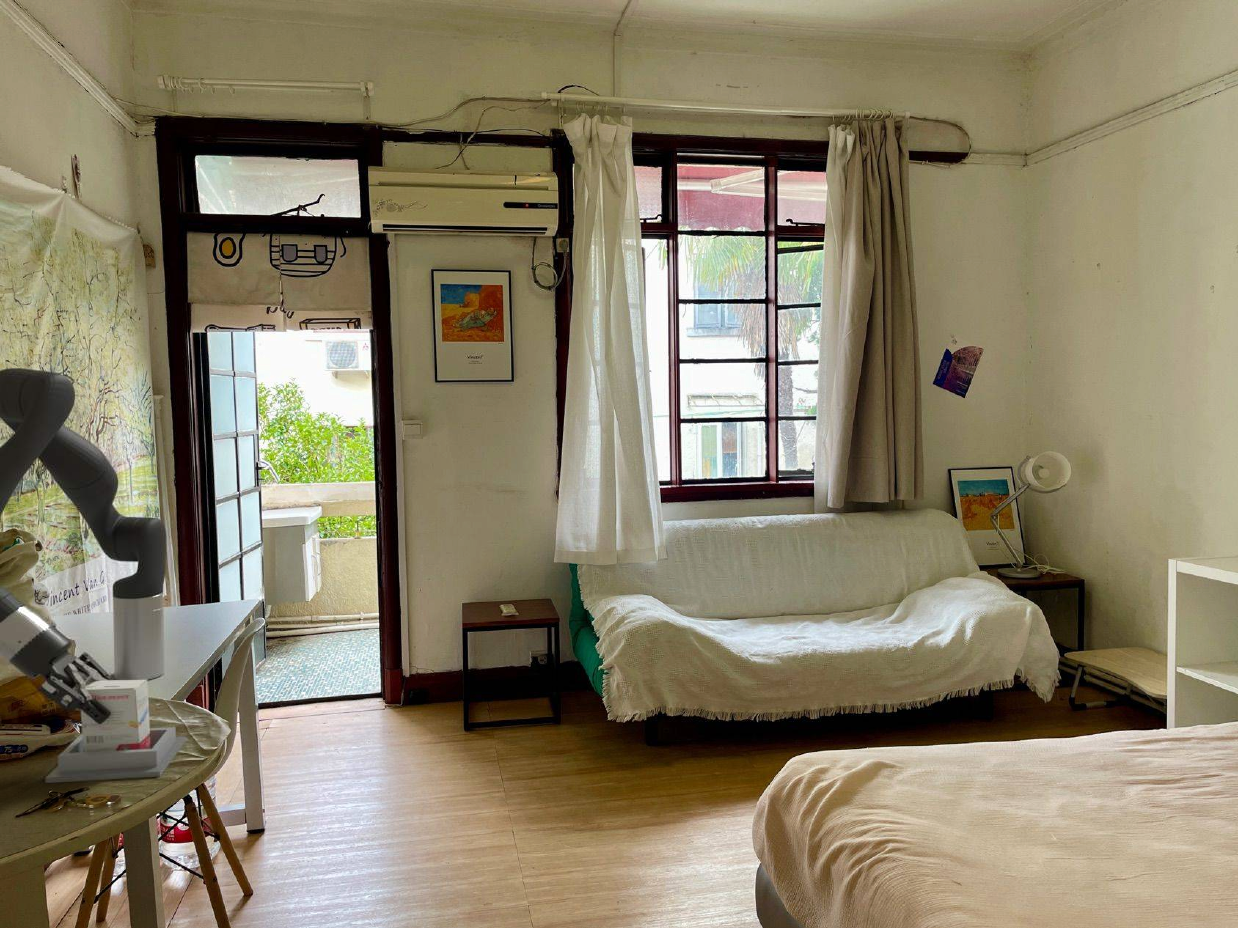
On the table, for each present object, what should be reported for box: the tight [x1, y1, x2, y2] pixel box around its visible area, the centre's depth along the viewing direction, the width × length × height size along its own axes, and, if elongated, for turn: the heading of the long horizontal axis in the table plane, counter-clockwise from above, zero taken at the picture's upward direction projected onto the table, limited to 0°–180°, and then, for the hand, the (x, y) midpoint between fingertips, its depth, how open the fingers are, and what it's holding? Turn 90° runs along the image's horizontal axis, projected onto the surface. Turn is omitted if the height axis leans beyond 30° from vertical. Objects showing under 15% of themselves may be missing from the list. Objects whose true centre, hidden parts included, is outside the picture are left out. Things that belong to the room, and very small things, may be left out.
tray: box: [45, 726, 187, 784], centre depth 141 cm, size 14×16×3 cm
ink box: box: [79, 679, 151, 752], centre depth 141 cm, size 9×5×12 cm, turn 96°
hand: (113, 711), depth 141 cm, fingers open, 5 cm apart
